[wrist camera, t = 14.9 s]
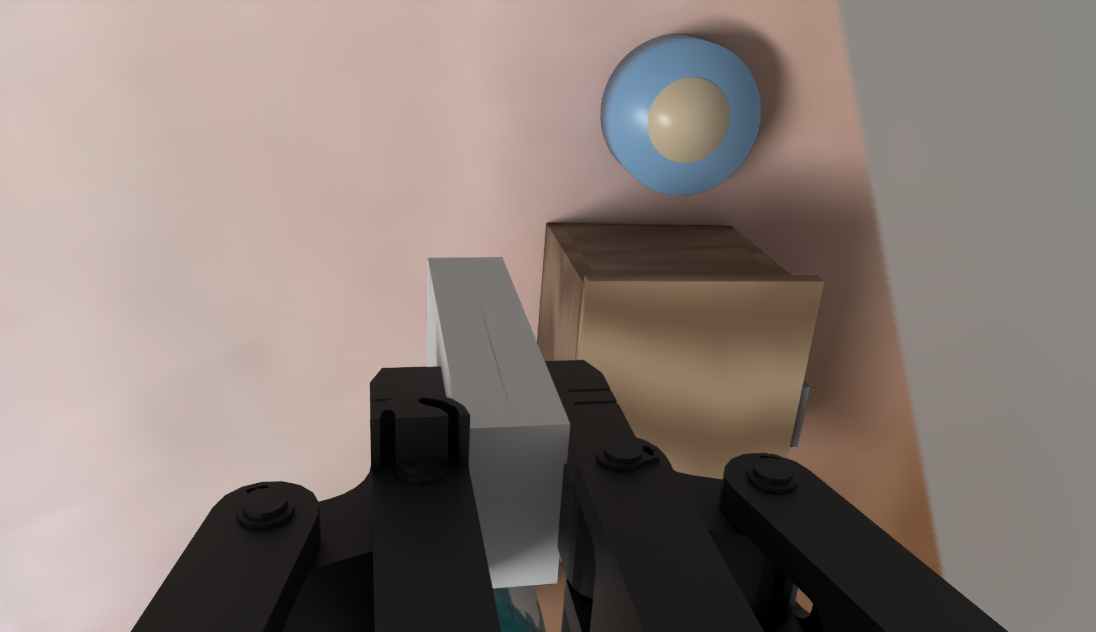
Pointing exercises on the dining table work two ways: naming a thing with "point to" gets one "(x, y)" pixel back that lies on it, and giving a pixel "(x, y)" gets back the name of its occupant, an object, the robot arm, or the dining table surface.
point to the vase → (518, 609)
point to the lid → (704, 360)
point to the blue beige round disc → (681, 114)
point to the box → (630, 266)
